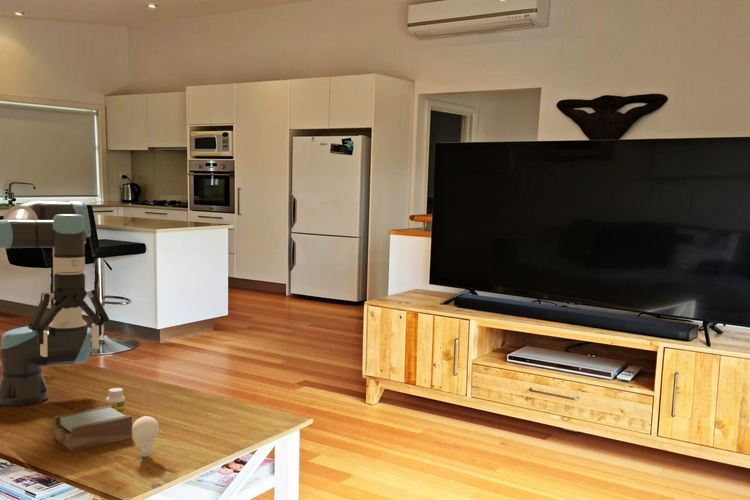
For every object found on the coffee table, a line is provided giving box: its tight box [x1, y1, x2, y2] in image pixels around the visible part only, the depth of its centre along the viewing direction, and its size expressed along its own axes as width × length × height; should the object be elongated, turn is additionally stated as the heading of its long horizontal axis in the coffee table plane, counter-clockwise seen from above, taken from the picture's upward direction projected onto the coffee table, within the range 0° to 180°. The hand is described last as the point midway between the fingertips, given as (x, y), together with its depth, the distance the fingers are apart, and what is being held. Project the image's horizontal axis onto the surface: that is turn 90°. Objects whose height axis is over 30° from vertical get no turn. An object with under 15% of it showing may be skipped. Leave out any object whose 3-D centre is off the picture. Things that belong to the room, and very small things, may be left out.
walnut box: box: [53, 405, 133, 453], centre depth 187 cm, size 13×16×7 cm
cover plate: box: [60, 407, 126, 432], centre depth 187 cm, size 10×14×2 cm
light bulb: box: [132, 415, 160, 459], centre depth 177 cm, size 7×7×11 cm
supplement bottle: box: [105, 387, 126, 416], centre depth 203 cm, size 5×5×10 cm
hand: (70, 352), depth 181 cm, fingers open, 13 cm apart
